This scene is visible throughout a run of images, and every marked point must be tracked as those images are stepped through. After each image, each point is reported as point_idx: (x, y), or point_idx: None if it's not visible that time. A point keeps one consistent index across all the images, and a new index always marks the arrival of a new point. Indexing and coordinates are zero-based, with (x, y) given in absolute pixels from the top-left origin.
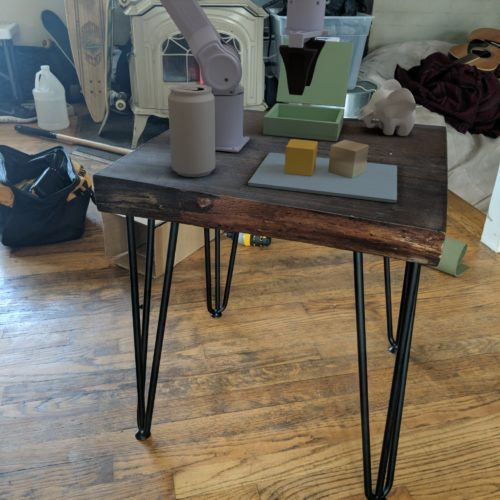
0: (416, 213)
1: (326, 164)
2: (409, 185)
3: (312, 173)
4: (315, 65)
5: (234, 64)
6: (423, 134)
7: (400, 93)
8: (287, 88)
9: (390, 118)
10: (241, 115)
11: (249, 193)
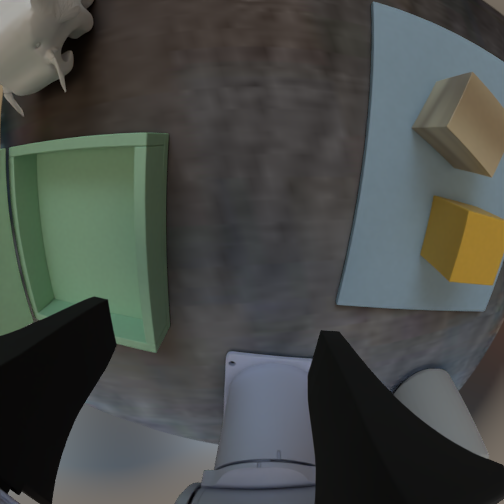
0: None
1: (411, 166)
2: (454, 18)
3: (472, 205)
4: (31, 335)
5: None
6: None
7: None
8: (2, 314)
9: (79, 5)
10: (288, 413)
11: (501, 299)
